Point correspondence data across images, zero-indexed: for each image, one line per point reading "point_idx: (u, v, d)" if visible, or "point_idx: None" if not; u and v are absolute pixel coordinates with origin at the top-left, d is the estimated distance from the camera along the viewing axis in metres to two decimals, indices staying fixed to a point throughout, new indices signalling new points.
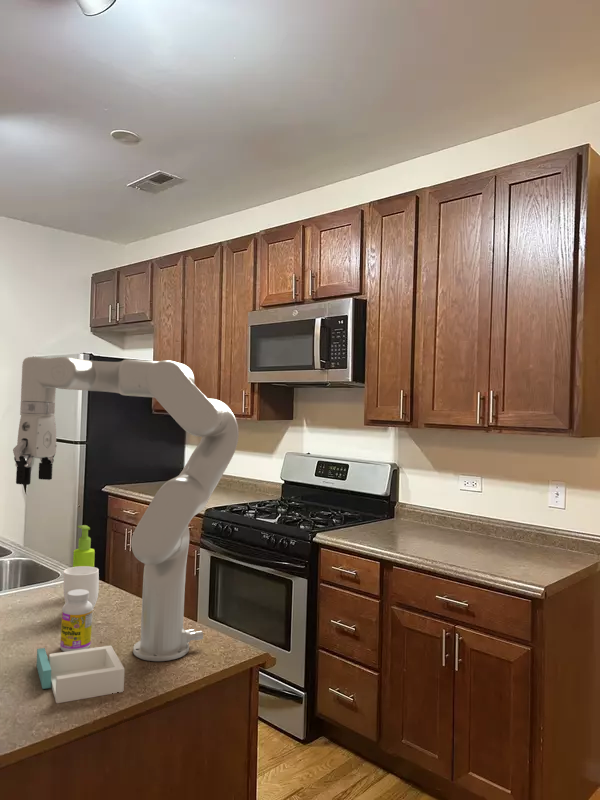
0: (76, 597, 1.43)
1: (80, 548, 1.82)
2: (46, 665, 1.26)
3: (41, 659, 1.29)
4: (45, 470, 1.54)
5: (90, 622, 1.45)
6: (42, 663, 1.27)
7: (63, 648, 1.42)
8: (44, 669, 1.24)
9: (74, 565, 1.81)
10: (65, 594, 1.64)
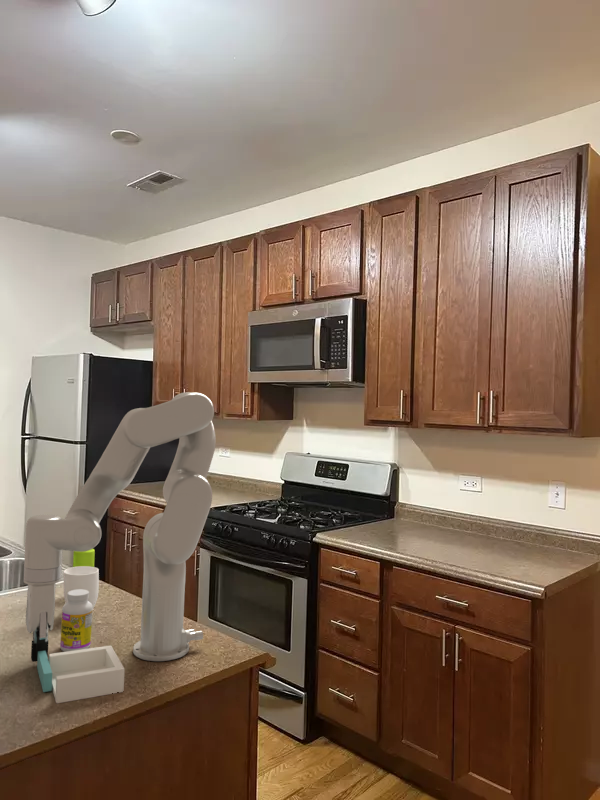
0: (76, 597, 1.43)
1: None
2: (47, 668, 1.25)
3: (42, 662, 1.28)
4: None
5: (90, 622, 1.45)
6: (43, 666, 1.26)
7: (63, 648, 1.42)
8: (45, 672, 1.23)
9: (74, 565, 1.81)
10: (65, 594, 1.64)
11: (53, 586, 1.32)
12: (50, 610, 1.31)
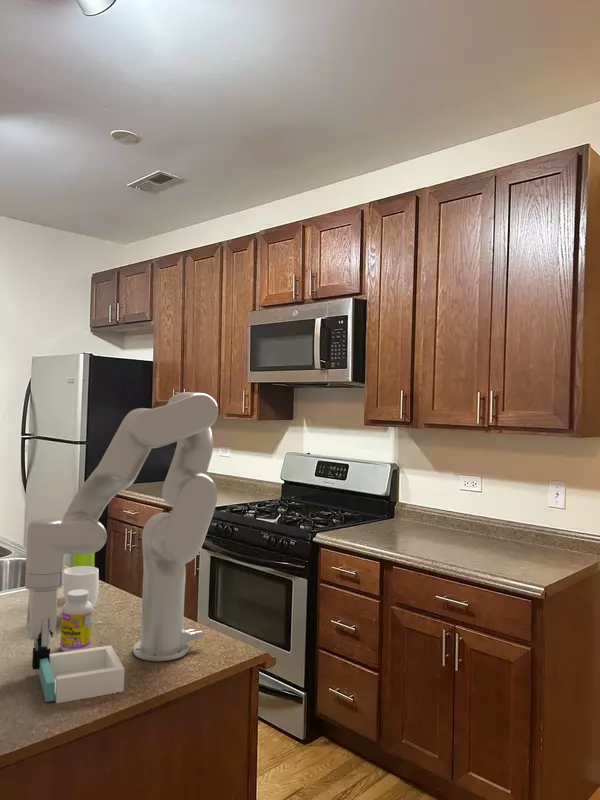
0: (76, 597, 1.43)
1: None
2: (49, 676, 1.21)
3: (44, 670, 1.24)
4: None
5: (90, 622, 1.45)
6: (45, 675, 1.22)
7: (63, 648, 1.42)
8: (47, 681, 1.19)
9: (74, 565, 1.81)
10: (65, 594, 1.64)
11: (55, 592, 1.28)
12: (52, 617, 1.27)
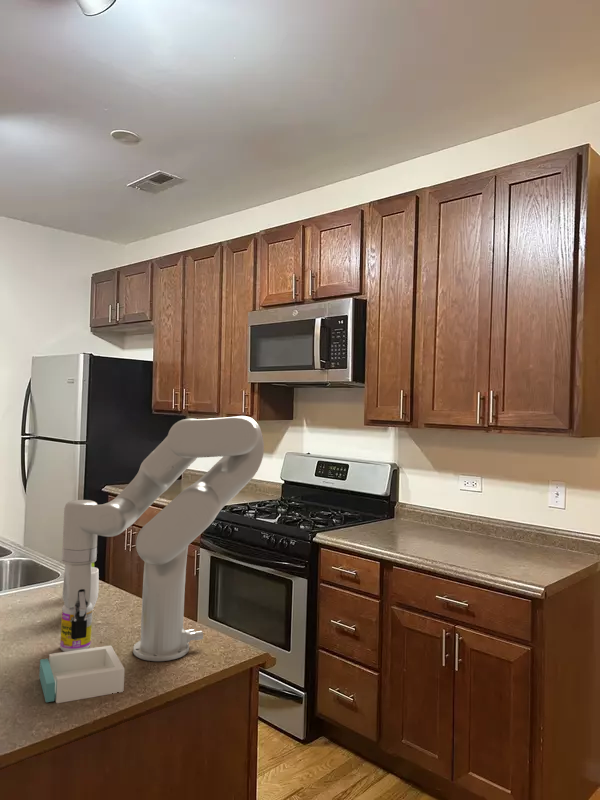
0: None
1: None
2: (49, 677, 1.21)
3: (44, 671, 1.24)
4: None
5: (90, 622, 1.45)
6: (45, 675, 1.22)
7: (63, 648, 1.42)
8: (47, 681, 1.19)
9: None
10: None
11: (90, 566, 1.42)
12: (87, 588, 1.41)
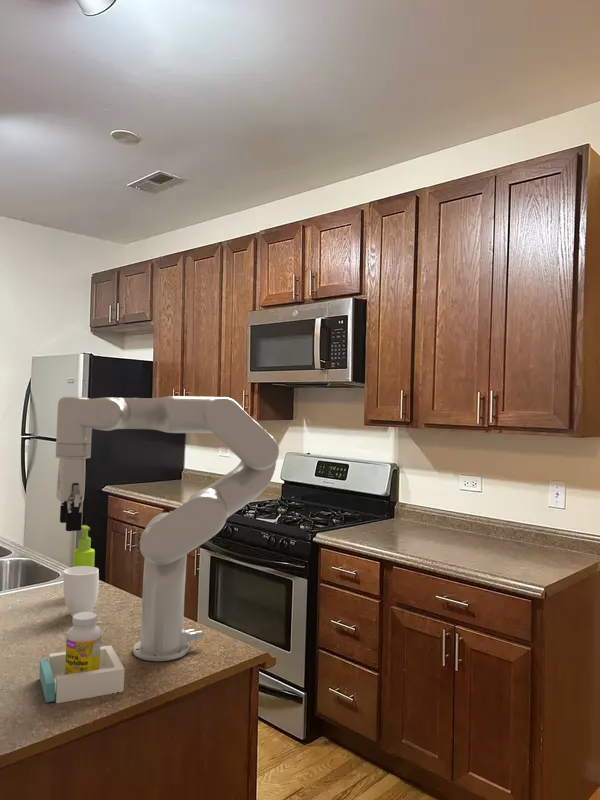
0: (83, 621, 1.25)
1: (80, 548, 1.82)
2: (49, 677, 1.21)
3: (44, 671, 1.24)
4: None
5: (98, 650, 1.27)
6: (45, 675, 1.22)
7: None
8: (47, 681, 1.19)
9: (74, 565, 1.81)
10: (65, 594, 1.64)
11: (84, 460, 1.41)
12: (81, 482, 1.39)
